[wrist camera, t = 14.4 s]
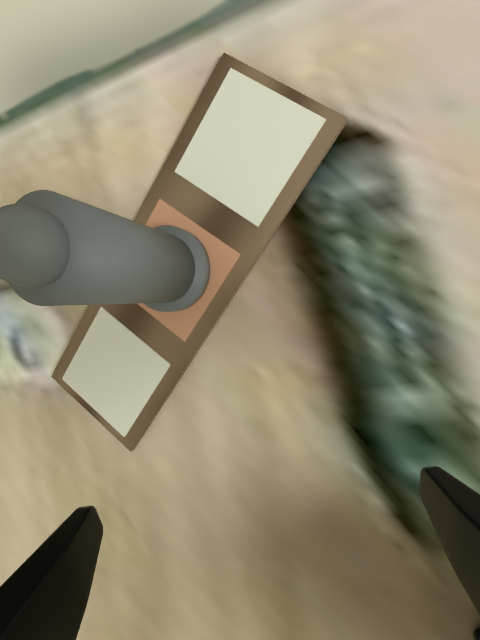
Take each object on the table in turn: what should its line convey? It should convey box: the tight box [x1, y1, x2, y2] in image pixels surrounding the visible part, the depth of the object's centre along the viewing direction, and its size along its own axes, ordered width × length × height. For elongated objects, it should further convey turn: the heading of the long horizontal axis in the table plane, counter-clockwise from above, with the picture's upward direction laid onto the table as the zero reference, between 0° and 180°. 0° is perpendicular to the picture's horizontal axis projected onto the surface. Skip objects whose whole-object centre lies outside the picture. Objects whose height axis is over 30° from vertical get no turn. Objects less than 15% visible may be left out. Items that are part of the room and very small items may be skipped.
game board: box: [52, 53, 348, 451], centre depth 22 cm, size 9×26×1 cm, turn 145°
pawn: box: [0, 190, 210, 312], centre depth 16 cm, size 6×6×12 cm
